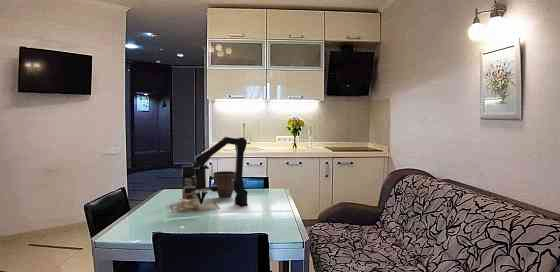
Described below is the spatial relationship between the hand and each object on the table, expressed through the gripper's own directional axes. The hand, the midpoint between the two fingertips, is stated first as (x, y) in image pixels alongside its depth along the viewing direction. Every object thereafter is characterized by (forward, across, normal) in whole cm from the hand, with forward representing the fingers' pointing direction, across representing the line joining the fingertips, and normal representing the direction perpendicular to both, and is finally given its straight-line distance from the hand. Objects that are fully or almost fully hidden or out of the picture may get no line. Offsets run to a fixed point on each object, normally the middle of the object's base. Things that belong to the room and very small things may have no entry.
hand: (201, 204), depth 221 cm
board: (+2, +4, 0) cm, 4 cm away
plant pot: (+2, -18, -25) cm, 31 cm away
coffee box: (+2, +4, -18) cm, 19 cm away
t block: (+1, +7, 0) cm, 7 cm away
